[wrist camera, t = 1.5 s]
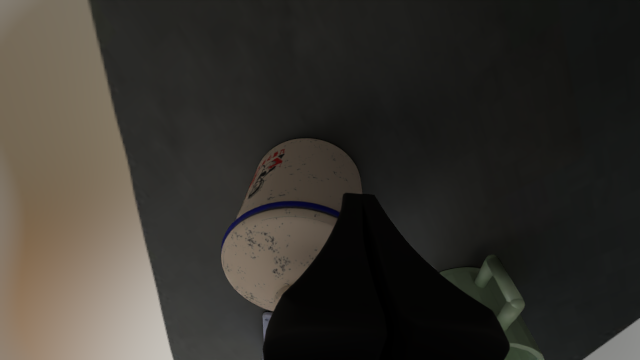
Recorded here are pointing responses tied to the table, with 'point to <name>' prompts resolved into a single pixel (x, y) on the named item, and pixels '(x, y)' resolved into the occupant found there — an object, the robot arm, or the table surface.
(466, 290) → the mug
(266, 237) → the teacup with lid
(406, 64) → the table surface
